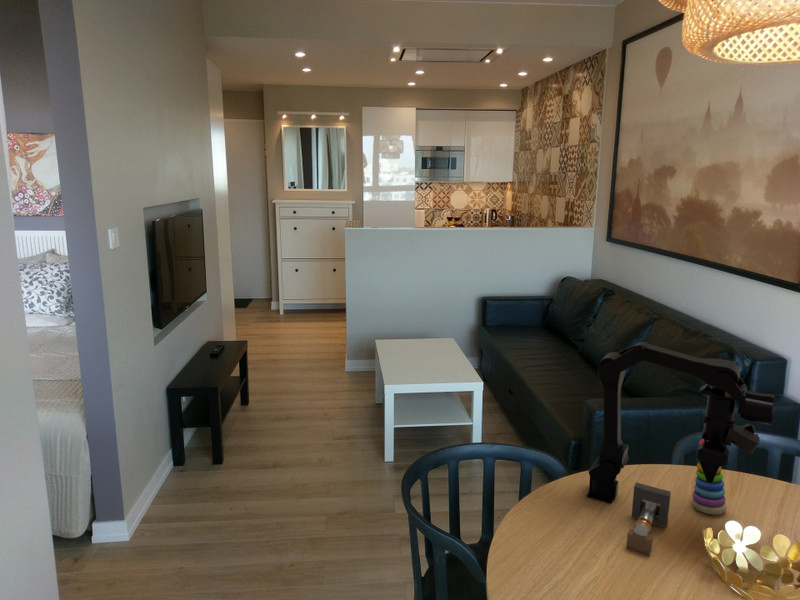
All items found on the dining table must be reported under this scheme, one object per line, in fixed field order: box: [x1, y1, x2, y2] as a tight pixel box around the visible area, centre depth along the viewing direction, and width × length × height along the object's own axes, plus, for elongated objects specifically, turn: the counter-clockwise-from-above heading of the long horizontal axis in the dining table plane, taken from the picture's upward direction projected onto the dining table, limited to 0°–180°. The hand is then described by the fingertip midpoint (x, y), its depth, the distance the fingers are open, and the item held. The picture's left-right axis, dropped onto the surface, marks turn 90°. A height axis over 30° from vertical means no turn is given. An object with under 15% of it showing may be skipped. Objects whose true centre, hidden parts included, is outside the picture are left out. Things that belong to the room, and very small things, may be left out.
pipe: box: [625, 499, 660, 557], centre depth 137 cm, size 18×5×6 cm, turn 147°
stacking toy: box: [691, 438, 728, 515], centre depth 145 cm, size 8×8×19 cm
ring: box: [631, 481, 672, 528], centre depth 140 cm, size 2×8×8 cm, turn 57°
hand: (711, 473), depth 137 cm, fingers open, 9 cm apart
